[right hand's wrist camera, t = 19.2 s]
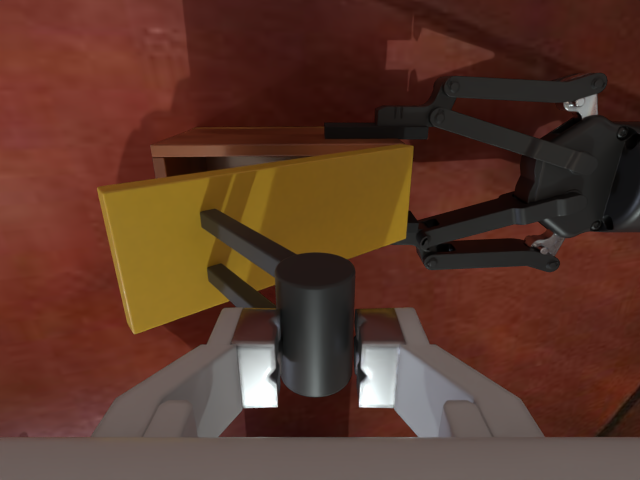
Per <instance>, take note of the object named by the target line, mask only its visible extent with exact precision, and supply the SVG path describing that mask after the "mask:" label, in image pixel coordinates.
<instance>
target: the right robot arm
mask: <svg viewBox="0 0 640 480" xmlns="http://www.w3.org/2000/svg"><path fill="white" fill-rule="evenodd" d="M354 324H355V332H356V336H355V337H354V369H355V374H356V375H357V394H358V401H359V407H376V408H394V410H395V411H396V412H397V413H398V414H399V415H400V417H401V418H402V419H403V420H404V421H405V422H406V423H407V424H408V426H409V427H410V428H411V429H412V430H413V431H414V432H415V433H416V435H417V436H418V437H219V435H220V434H221V433H222V432H223V431H224V430H225V429H226V428H227V426H228V425H229V424H230V423H231V422H232V421H233V420H234V419H235V418H236V416H237V415H238V414H239V413H240V412H241V411H242V408H260V407H278V400H279V393H280V375H281V374H282V370H283V358H284V350H283V338H282V336H281V332H282V309H280V308H224V309H222V311H221V313H220V315H219V318H218V320H217V322H216V324H215V327H214V329H213V331H212V334H211V336H210V338H209V340H208V343H207V345H200V346H198V347H196V348H195V349H193V350H192V351H190V352H189V353H187V354H185V355H184V356H182V357H181V358H179V359H177V360H176V361H174V362H173V363H171V364H170V365H168V366H166V367H165V368H163V369H162V370H160V371H158V372H157V373H155V374H154V375H152V376H150V377H149V378H147V379H146V380H144V381H143V382H141V383H139V384H138V385H136V386H135V387H133V388H131V389H130V390H128V391H127V392H125V393H124V394H122V395H120V396H119V397H117V398H116V399H115V400H114V402H113V403H112V405H111V406H110V408H109V409H108V411H107V412H106V414H105V415H104V417H103V419H102V420H101V422H100V423H99V425H98V426H97V428H96V429H95V431H94V432H93V434H92V435H91V437H0V480H640V437H544V435H543V433H542V432H541V430H540V429H539V427H538V426H537V424H536V422H535V421H534V419H533V418H532V416H531V415H530V413H529V411H528V410H527V408H526V407H525V405H524V404H523V402H522V400H521V399H520V398H518V397H517V396H515V395H513V394H512V393H510V392H509V391H507V390H506V389H504V388H503V387H501V386H499V385H498V384H496V383H495V382H493V381H492V380H490V379H488V378H487V377H485V376H484V375H482V374H481V373H479V372H478V371H476V370H474V369H473V368H471V367H470V366H468V365H467V364H465V363H463V362H462V361H460V360H459V359H457V358H456V357H454V356H453V355H451V354H449V353H448V352H446V351H445V350H443V349H442V348H440V347H438V346H437V345H430V344H429V341H428V339H427V337H426V334H425V332H424V330H423V327H422V325H421V323H420V321H419V318H418V316H417V314H416V311H415V309H414V308H412V307H409V308H378V309H355V320H354Z"/></svg>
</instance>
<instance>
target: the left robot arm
mask: <svg viewBox="0 0 640 480" xmlns="http://www.w3.org/2000/svg"><path fill="white" fill-rule="evenodd" d="M606 85H607V77H606V76H605V74H603V73H580V74H571V75H568V76H565V77H561V78H558V79H555V80H552V81H539V80H521V79H503V78H484V77H466V76H444V77H440V78H438V79H437V80H436V81H435V83H434V86H433V87H434V90H433V92H432V94H431V96H430V98H429V100H428V101H427V102H426V103H425V104H423V105H419V106H381V107H378V108H376V109H375V123H324V136H325V139H427V138H428V129H429V127H437V128H440V129H443V130H447V131H450V132H453V133H456V134H459V135H462V136H465V137H468V138H472V139H475V140H478V141H481V142H484V143H487V144H490V145H494V146H497V147H500V148H503V149H506V150H509V151H512V152H516V153H519V154H522V156H521V162H520V170H521V176H520V178H519V180H518V182H517V184H516V187H515V191H514V192H510V193H506V194H503V195H500V196H499V198H497V199H494V200H490V201H487V202H483V203H479V204H476V205H472V206H468V207H465V208H461V209H457V210H454V211H450V212H446V213H443V214H439V215H435V216H432V217H428V218H424V219H421V220H416V218H415V217H414V215H413V214H412V213H411V211H408V220H407V232H406V239H403V240H400V241H398V242H395V243H392V245H414V246H416V250H417V253H418V255H419V257H420V259H421V260H422V262H423V264H424V266H425V267H426V268H427V269H429V270H442V269H465V268H488V267H510V266H529V267H533V268H536V269H539V270H543V271H546V272H553V271H555V270H557V268H558V267H559V265H560V261H559V260H558V259H557V258H556V257H555V255H556V253H557V251H558V250H559V248H560V246H561V244H562V243H563V241H564V239H565V238H571V237H574V236H577V235H579V234H581V233H584V232H589V231H594V232H640V122H612V121H610V120H608V119H607V118H606V117H604V116H601V115H598V106H597V94H598V93H600V92H602V91H603V90H604V89H605V87H606ZM457 97H458V98H477V99H496V100H514V101H533V102H552V103H555V104H556V107H557V108H558V109H559V110H562V111H570V112H572V114H573V118H571V119H570V120H568V121H567V122H565V123H564V124H562V125H561V126H559V127H557V128H556V129H554V130H553V131H551V132H550V133H548V134H547V135H545V136H543V137H542V138H540V139H538V138H535V137H532V136H528V135H525V134H522V133H519V132H516V131H513V130H510V129H507V128H504V127H501V126H498V125H495V124H492V123H489V122H485V121H482V120H479V119H476V118H473V117H470V116H467V115H464V114H461V113H458V112H455V111H452V110H451V109H452V106H453V104H454V102H455V100H456V98H457ZM537 221H538V222H539V223H540V224H541V225H543V226H544V227H545V228H546V229H547V230H546V231H545V232H544V233H543V234H541V235H532V236H526V237H525V239H524V240H520V239H513V238H506V239H483V240H461V241H453V240H456V239H460V238H464V237H468V236H472V235H475V234H479V233H483V232H487V231H490V230H494V229H498V228H502V227H505V226H509V225H513V224H519V225H525V224H530V223H533V222H537ZM389 245H391V244H389Z"/></svg>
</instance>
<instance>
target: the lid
mask: <svg viewBox="0 0 640 480" xmlns="http://www.w3.org/2000/svg"><path fill="white" fill-rule="evenodd" d="M413 150H414V146H411V145H404V144H397V145H390V146H383V147H376V148H369V149H362V150H355V151H348V152H341V153H334V154H327V155H320V156H313V157H306V158H298V159H291V160H284V161H277V162H270V163H263V164H256V165H249V166H242V167H235V168H228V169H221V170H214V171H207V172H200V173H192V174H185V175H178V176H171V177H164V178H157V179H150V180H143V181H136V182H129V183H122V184H115V185H108V186H101V187H98V188H97V191H98V195H99V200H100V204H101V209H102V213H103V217H104V222H105V226H106V231H107V235H108V239H109V244H110V248H111V253H112V257H113V261H114V266H115V270H116V275H117V279H118V284H119V288H120V292H121V297H122V301H123V306H124V310H125V314H126V319H127V323H128V325H129V327H130V328H131V330H132V332H133V333H134V334H137V333H140V332H143V331H146V330H148V329H151V328H154V327H157V326H160V325H163V324H165V323H168V322H171V321H174V320H177V319H180V318H182V317H185V316H188V315H191V314H194V313H197V312H199V311H202V310H205V309H208V308H211V307H214V306H216V305H219V304H222V303H225V302H228V301H231V302H232V303H233V304H234V305H235V306H236V307H237V308H280V309H282V332H281V336H282V338H283V350H284V358H283V370H282V374H281V379H282V381H283V382H284V384H285V385H286V386H287V387H288V388H289V389H290V390H292V391H293V392H295V393H297V394H300V395H303V396H307V397H324V396H328V395H332V394H334V393H336V392H338V391H340V390H341V389H343V388H344V387H345V386H346V385H347V383H348V382H349V380H350V378H351V375H352V357H353V327H354V297H355V268H354V266H353V264H352V263H351V262H350V261H349V260H347V259H349V258H352V257H355V256H358V255H361V254H364V253H366V252H369V251H372V250H375V249H378V248H381V247H383V246H386V245H389V244H392V243H395V242H398V241H400V240H403V239H406V232H407V220H408V208H409V197H410V185H411V173H412V161H413ZM273 285H275V289H276V306H275V305H274V304H273V303H272V302H270V301H269V300H268V299H267V298H265V297H264V296H263V295H261V294H260V293H259V292H258V291H259V290H262V289H264V288H267V287H270V286H273Z"/></svg>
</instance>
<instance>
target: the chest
mask: <svg viewBox="0 0 640 480" xmlns="http://www.w3.org/2000/svg"><path fill="white" fill-rule="evenodd" d="M397 144H404V145H405V143H403V142H402V141H400V140H399V139H325V136H324V127H195V128H193V129H192V130H189V131H186V132H184V133H181V134H178V135H176V136H173V137H170V138H168V139H165V140H162V141H160V142H157V143H154V144H152V145H151V146H150V147H151V153H152V157H153V158H152V159H153V165H154V171H155V177H156V179H157V178H164V177H171V176H178V175H185V174H192V173H200V172H207V171H214V170H221V169H228V168H235V167H242V166H249V165H256V164H263V163H270V162H277V161H284V160H291V159H298V158H306V157H313V156H320V155H327V154H334V153H341V152H348V151H355V150H362V149H369V148H376V147H383V146H390V145H397Z"/></svg>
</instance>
